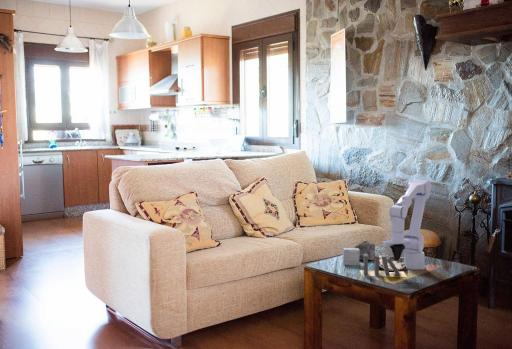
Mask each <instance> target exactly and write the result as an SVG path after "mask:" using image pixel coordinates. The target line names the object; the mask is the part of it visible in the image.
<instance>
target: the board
mask: <svg viewBox="0 0 512 349" xmlns="http://www.w3.org/2000/svg"><path fill="white" fill-rule="evenodd" d="M398 271H399V270H398ZM359 272H360V275H361V276H362V277H376V276H375V274H374V270H369V269H368V275H364V273H363V270H362V269H361V270H359ZM399 273H400V275H399V276H397V275H396V274H395V272H389V274H390V276H386V274H385V271H384V270H379V276H378V277H388V278H390V277H392V278H393V277H394V278H408V276H407V275H406V273H405V271H403V270H402V271H399Z"/></svg>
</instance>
